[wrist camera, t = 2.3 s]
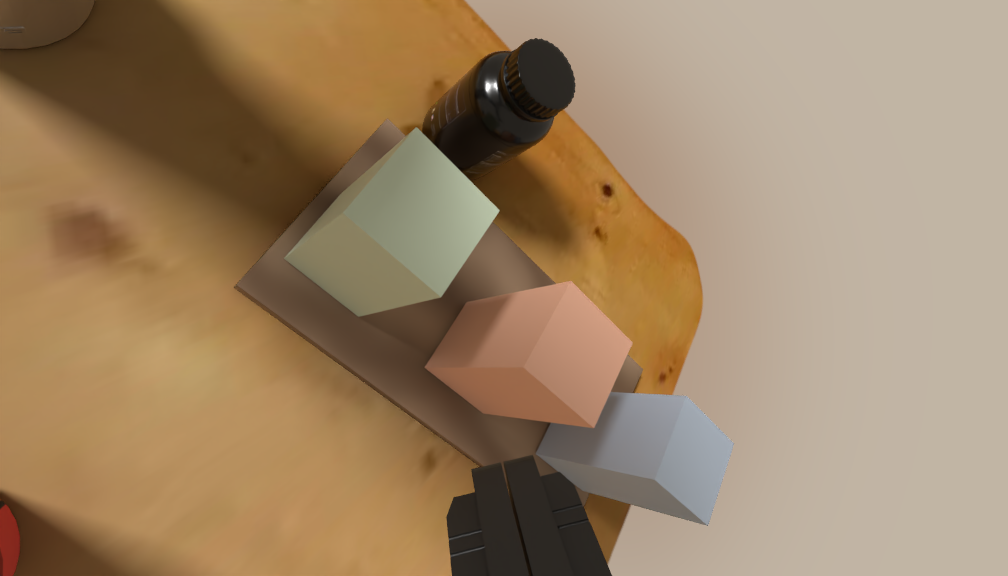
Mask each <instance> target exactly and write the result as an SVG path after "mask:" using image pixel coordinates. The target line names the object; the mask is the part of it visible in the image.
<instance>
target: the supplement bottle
mask: <svg viewBox="0 0 1008 576" xmlns="http://www.w3.org/2000/svg"><path fill="white" fill-rule="evenodd" d="M574 81H575V78H574V76H573V71H572V69H571V65H570V64H569V63H568V60H567V58H566V57H565V56H564V54H563V53H562V52H561V51H560V50H559V49H558V48H557V47H555V46H554V45H553V44H552V43H549V42H548V41H544V40H543V39H537V38H535V39H530V40H528V41H526V42H524V43H523V44H522V45H521V46H519V47H518V48H517V49H516V50H514V51H512V52H511V51H497V52H493V53H491V54H489V55H487V56H485V57H484V58H483V59H481V60H480V61H479V62H478V63H477V64H476V65H475V66H474V67H473V68H472V69H471V70H469V71H468V72H467V73H466V74H465V75H464V76H463V77H462V78H461V79H460V80H459V81H458V82H457V83H456V84H455V85H454V86H453V87H452V88H451V89H450V90H448V91H447V92H446V93H445V94H444V95H443V96H442V97H441V98H440V99H439V100H438V101H437V102H436V103H435V104H434V105H433V106H432V107H431V108H430V110H429V111H428V112H427V114H426V116H425V119H424V122H423V128H422V133H423V134H424V135H425V136H426V137H427V138H428V139H429V140H430V141H431V142H432V143H433V144H434V145H435V146H436V147H437V148H438V149H439V150H440V151H441V152H442V153H443V154H444V155H445V156H446V157H447V158H448V159H449V160H450V161H451V162H452V163H453V164H454V165H455V166H456V167H457V168H458V169H459V170H460V171H461V172H462V173H463V174H464V175H465V176H466V177H467V178H468V179H469V180H474V179H477V178H480V177H482V176H484V175H485V174H487V173H489V172H491V171H492V170H494V169H496V168H497V167H499V166H501V165H502V164H504V163H506V162H507V161H509V160H511V159H512V158H514V157H516V156H517V155H519V154H521V153H522V152H524V151H526V150H527V149H529V148H531V147H532V146H534V145H536V144H537V143H539V142H540V141H541V140H543V138H544V137H545V136H546V135H547V134H548V132H549V130H550V129H551V126H552V124H553V120H554V116H556V115H557V114H558V113H559V112H560V111H562V110H563V109H565V108H566V107H567V106H568V104H570V103H571V101H572V98H573V97H574V93H575V82H574Z"/></svg>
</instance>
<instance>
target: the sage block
mask: <svg viewBox="0 0 1008 576" xmlns="http://www.w3.org/2000/svg"><path fill="white" fill-rule="evenodd" d="M499 211H500V210H499V209H498V208H497V207H496V206H495V205H494V204H493V203H492V202H491V201H490V200H489V199H488V198H487V197H486V196H485V195H484V194H483V193H482V192H481V191H480V190H479V189H478V188H477V187H476V186H475V185H474V184H473V183H472V182H471V181H470V180H469V179H468V178H467V177H466V176H465V175H464V174H463V173H462V172H461V171H460V170H459V169H458V168H457V167H456V166H455V165H454V164H453V163H452V162H451V161H450V160H449V159H448V158H447V157H446V156H445V155H444V154H443V153H442V152H441V151H440V150H439V149H438V148H437V147H436V146H435V145H434V144H433V143H432V142H431V141H430V140H429V139H428V138H427V137H426V136H425V135H424V134H423V133H422V132H421V131H420V130H419V129H418V128H417V127H416V128H415V129H414V130H413V131H412V132H410V133H409V134H408V135H407V136H406V137H405V138H404V139H402V140H401V141H400V142H399V143H398V144H397V145H396V146H394V147H393V148H392V149H391V150H390V151H389V152H388V153H386V154H385V155H384V156H383V157H382V158H381V159H380V160H379V161H377V162H376V163H375V164H374V165H373V166H372V167H371V168H369V169H368V170H367V171H366V172H365V173H364V174H363V175H361V176H360V177H359V178H358V179H357V180H356V181H355V182H353V183H352V184H351V185H350V186H349V187H348V188H347V189H346V190H344V191H343V192H342V193H341V194H340V195H339V196H338V198H337V199H336V200H335V201H334V202H333V203H332V204H331V206H330V207H329V208H328V209H327V210H326V211H325V212H324V213H323V215H322V216H321V217H320V218H319V219H318V220H317V221H316V223H315V224H314V225H313V226H312V227H311V228H310V229H309V231H308V232H307V233H306V234H305V235H304V236H303V237H302V238H301V240H300V241H299V242H298V243H297V244H296V245H295V246H294V248H293V249H292V250H291V251H290V252H289V253H288V254H287V255H286V257H285V258H284V259H285V260H286V261H288V262H289V263H290V264H291V265H293V266H294V267H295V268H297V269H298V270H299V271H300V272H302V273H303V274H304V275H306V276H307V277H308V278H309V279H311V280H312V281H313V282H315V283H316V284H317V285H318V286H320V287H321V288H322V289H323V290H325V291H326V292H327V293H329V294H330V295H331V296H332V297H334V298H335V299H336V300H338V301H339V302H340V303H341V304H343V305H344V306H345V307H347V308H348V309H349V310H350V311H352V312H353V313H354V314H355V315H357V316H358V317H360V316H364V315H368V314H373V313H377V312H381V311H385V310H390V309H394V308H398V307H402V306H406V305H411V304H415V303H419V302H423V301H428V300H432V299H436V298H440V297H442V295H443V294H444V292H445V291H446V289H447V288H448V286H449V285H450V283H451V282H452V280H453V279H454V277H455V276H456V274H457V273H458V272H459V270H460V269H461V267H462V266H463V264H464V263H465V261H466V260H467V258H468V257H469V255H470V254H471V252H472V251H473V249H474V248H475V246H476V245H477V244H478V242H479V241H480V239H481V238H482V236H483V235H484V233H485V232H486V230H487V229H488V227H489V226H490V224H491V223H492V221H493V220H494V218H495V217H496V215H497V214H498V213H499Z"/></svg>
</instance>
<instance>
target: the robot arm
mask: <svg viewBox="0 0 1008 576" xmlns="http://www.w3.org/2000/svg"><path fill="white" fill-rule="evenodd" d="M94 1H95V0H0V48H1V49H26V48H32V47H38V46H44V45H48V44H51V43H54V42H56V41H59V40H61V39H64V38H66V37H67V36H69V35H70V34H72V33H73V32H75V31H76V30H77V29H79V28H80V26H81V25H82V24H83V23H84V22H85V20H86V19H87V18H88V17H89V15H90V12H91V10H92V7H93V5H94ZM503 464H504V469H505V475H506V480H507V485H508V489H507V485H506V481H505V477H504V473H503V469H502V465H501V462H499V463H495V464H491V465H487V466H483V467H479V468H475V469H471V470H472V477H473V482H474V488H475V492H474V493H470V494H466V495H462V496H458V497H454V498H453V501H452V504H451V506H450V509H449V512H448V514H447V528H448V537H449V548H450V556H451V569H452V576H612V575H611V573H610V570H609V567H608V565H607V563H606V560H605V558H604V555H603V553H602V551H601V548H600V546H599V543H598V541H597V538H596V536H595V534H594V531H593V529H592V526H591V524H590V522H589V520H588V517H587V514H586V512H585V509H584V507H583V506H582V502H581V500H580V497H579V495H578V492H577V490H576V488H575V485H574V484H573V483H571V482H570V481H569V480H568V479H567V478H566V477H565V476H564V475H563V474H562V473H560V472H556V473H552V474H548V475H544V476H540V474H539V471H538V468H537V465H536V462H535V459H534V457H533V455H529V456H525V457H521V458H516V459H512V460H508V461H504V462H503ZM508 490H509V493H508ZM509 496H510V497H509Z"/></svg>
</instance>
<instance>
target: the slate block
mask: <svg viewBox="0 0 1008 576" xmlns="http://www.w3.org/2000/svg"><path fill="white" fill-rule="evenodd" d="M733 445H734V443H733V442H732V441H731V440H730V439H729V438H728V437H727V436H726V435H725V434H724V433H723V432H722V431H721V430H720V429H719V428H718V427H717V426H716V425H715V424H714V423H713V422H712V421H711V420H710V419H709V418H708V417H707V416H706V415H705V414H704V413H703V412H702V411H701V410H700V409H699V408H698V407H697V406H696V405H695V404H694V403H693V402H692V401H691V400H690V399H689V398H688V397H687V396H678V395H658V394H639V393H619V392H610V394H609V396H608V399H607V401H606V403H605V405H604V407H603V410H602V412H601V414H600V416H599V418H598V421H597V423H596V425H595V427H594V428H588V427H581V426H573V425H566V424H558V423H551V424H550V426H549V428H548V430H547V432H546V434H545V436H544V438H543V440H542V442H541V444H540V446H539V448H538V450H537V452H536V455H538V456H539V457H540V458H541V459H543V460H544V461H545V462H547V463H548V464H549V465H550V466H552V467H553V468H554V469H555V470H557V471H558V472H560V473H562V474H563V475H564V476H565V477H566V478H567V479H568V480H570V481H571V482H572V483H573V484H575V485H576V486H577V487H578V488H580V489H581V490H582V491H585V492H589V493H592V494H596V495H599V496H603V497H607V498H610V499H614V500H617V501H621V502H624V503H628V504H632V505H635V506H639V507H642V508H646V509H650V510H653V511H657V512H660V513H664V514H668V515H671V516H675V517H678V518H682V519H686V520H689V521H693V522H696V523H700V524H704V525H707V526H708V524H709V521H710V518H711V515H712V511H713V508H714V505H715V501H716V499H717V496H718V493H719V489H720V486H721V483H722V480H723V477H724V473H725V470H726V467H727V464H728V461H729V458H730V455H731V452H732V448H733Z"/></svg>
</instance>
